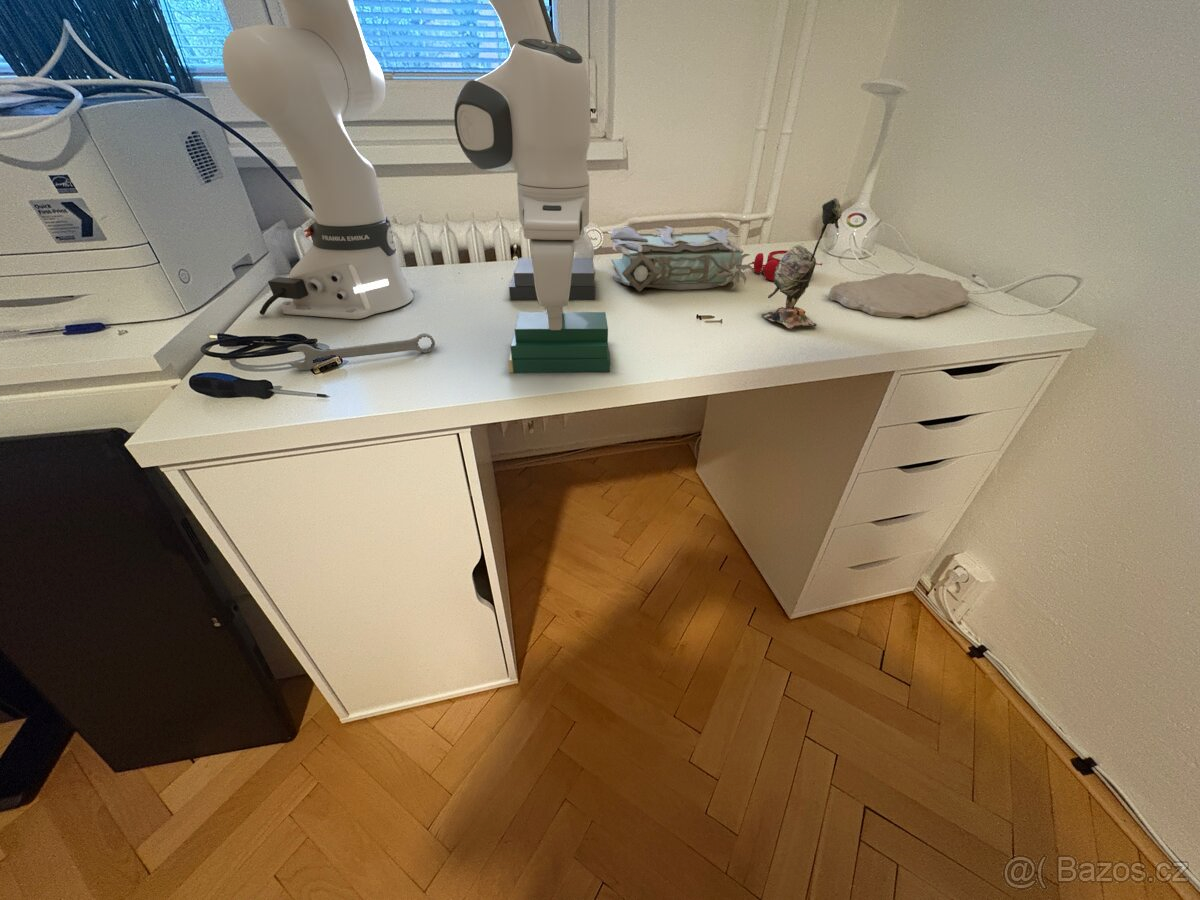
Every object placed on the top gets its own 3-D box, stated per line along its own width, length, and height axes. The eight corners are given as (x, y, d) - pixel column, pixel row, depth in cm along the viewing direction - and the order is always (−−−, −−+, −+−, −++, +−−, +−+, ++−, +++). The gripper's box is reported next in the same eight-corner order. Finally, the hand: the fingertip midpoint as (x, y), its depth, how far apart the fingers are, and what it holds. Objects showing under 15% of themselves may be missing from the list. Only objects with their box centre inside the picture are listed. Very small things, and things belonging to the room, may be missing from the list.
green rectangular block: (510, 372, 69) (507, 347, 67) (515, 346, 76) (513, 321, 74) (609, 371, 70) (610, 346, 67) (606, 345, 77) (606, 321, 74)
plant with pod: (793, 307, 92) (824, 190, 80) (821, 331, 83) (860, 202, 71) (752, 308, 91) (777, 190, 79) (775, 332, 82) (807, 202, 70)
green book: (515, 342, 68) (514, 329, 67) (519, 325, 73) (518, 312, 72) (607, 342, 68) (608, 328, 67) (605, 324, 73) (605, 311, 72)
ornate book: (618, 301, 96) (762, 290, 98) (618, 250, 90) (771, 241, 93) (603, 267, 114) (725, 259, 116) (602, 223, 108) (731, 216, 111)
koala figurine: (561, 263, 113) (559, 207, 105) (589, 262, 114) (590, 206, 106) (566, 274, 106) (564, 215, 99) (596, 273, 107) (596, 214, 100)
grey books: (510, 299, 93) (507, 273, 90) (515, 281, 102) (513, 257, 99) (595, 299, 94) (595, 273, 91) (593, 281, 102) (593, 257, 99)
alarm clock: (829, 262, 103) (772, 249, 98) (815, 291, 107) (759, 280, 102) (801, 250, 111) (747, 237, 106) (789, 277, 115) (736, 266, 110)
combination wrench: (432, 328, 73) (282, 344, 67) (433, 331, 72) (281, 347, 66) (436, 351, 75) (291, 368, 69) (437, 354, 74) (290, 372, 68)
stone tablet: (818, 296, 97) (821, 284, 95) (918, 278, 107) (922, 267, 106) (888, 327, 85) (893, 314, 84) (992, 303, 95) (999, 291, 94)
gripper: (534, 193, 69) (539, 289, 77) (521, 226, 52) (529, 344, 61) (578, 194, 69) (578, 290, 77) (579, 228, 53) (579, 345, 61)
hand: (556, 314), depth 69 cm, fingers open, 8 cm apart
